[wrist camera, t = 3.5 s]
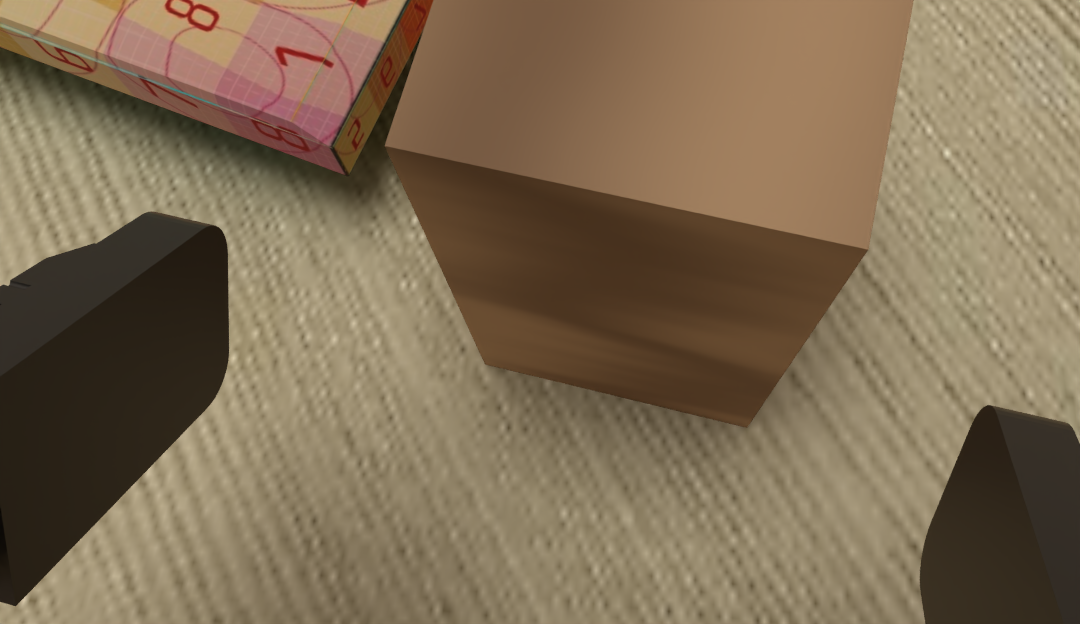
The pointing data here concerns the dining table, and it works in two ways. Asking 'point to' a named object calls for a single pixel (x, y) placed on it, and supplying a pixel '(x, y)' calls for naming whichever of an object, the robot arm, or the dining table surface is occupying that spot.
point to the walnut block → (649, 182)
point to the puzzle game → (236, 61)
